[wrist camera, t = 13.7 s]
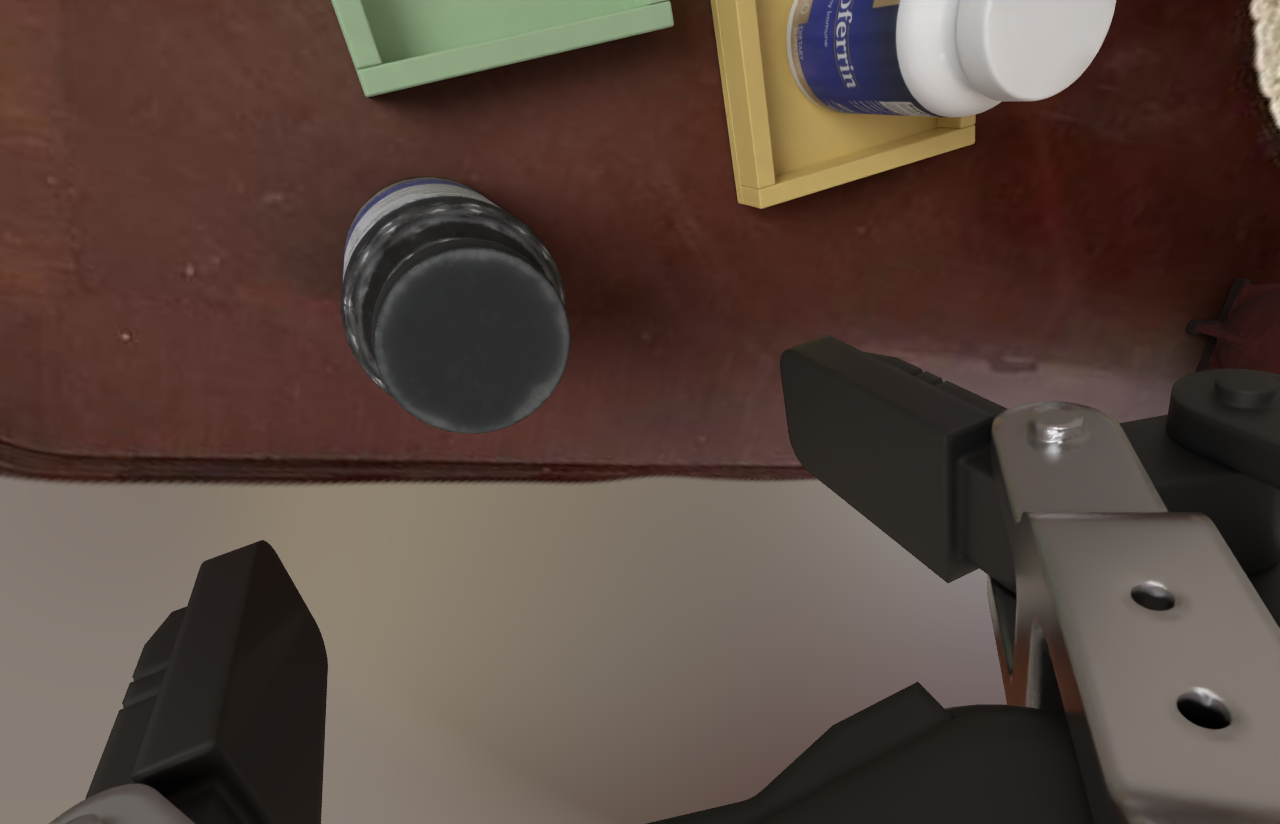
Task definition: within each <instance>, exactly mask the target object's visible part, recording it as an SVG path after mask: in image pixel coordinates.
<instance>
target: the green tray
mask: <svg viewBox="0 0 1280 824" xmlns="http://www.w3.org/2000/svg"><path fill="white" fill-rule="evenodd" d="M331 1H332V4H333V7H334V10H335V13H336V15H337V18H338V21H339V24H340V27H341V30H342V32H343V35H344V38H345V41H346V44H347V46H348V49H349V52H350V55H351V58H352V60H353V63H354V66H355V69H356V72H357V74H358V77H359V80H360V83H361V86H362V89H363V91H364V94H365V96H366V97H372V96H376V95H381V94H385V93H389V92H394V91H398V90H402V89H407V88H411V87H415V86H419V85H424V84H428V83H432V82H437V81H441V80H445V79H450V78H454V77H458V76H463V75H467V74H471V73H475V72H480V71H484V70H488V69H493V68H497V67H501V66H506V65H510V64H514V63H519V62H523V61H527V60H531V59H536V58H540V57H544V56H549V55H553V54H557V53H562V52H566V51H570V50H575V49H579V48H583V47H587V46H592V45H596V44H600V43H605V42H609V41H613V40H618V39H622V38H626V37H631V36H635V35H639V34H643V33H648V32H652V31H656V30H661V29H665V28H669V27H672V26H674V21H673V14H672V8H671V3H670V1H668V0H331Z"/></svg>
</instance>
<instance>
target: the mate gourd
mask: <svg viewBox="0 0 1280 824" xmlns="http://www.w3.org/2000/svg"><path fill="white" fill-rule="evenodd" d="M1250 282H1251V280H1250V279H1240V278H1237V279H1236V280H1235V282H1234V284H1233V286H1232V288H1231V290H1230V293H1229V295H1228V297H1227V300H1226V302H1225V305H1224V307H1223V309H1222V312H1221V314H1220V316H1219V318H1218V319H1217V320H1191V321H1190V322H1189V324H1188V327H1187V329H1186V332H1188V333H1191V334H1196V335H1211V337H1210V340H1209V342H1208V345H1207V347H1206V350H1205V352H1204V354H1203V357H1202V359H1201V361H1200V364H1199V366H1198V369H1197V372H1199V371H1204V370H1212V369H1227V368H1230V369H1250V370H1258V371H1265V372H1270V373H1275V374H1279V375H1280V283H1273V284H1250Z"/></svg>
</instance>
